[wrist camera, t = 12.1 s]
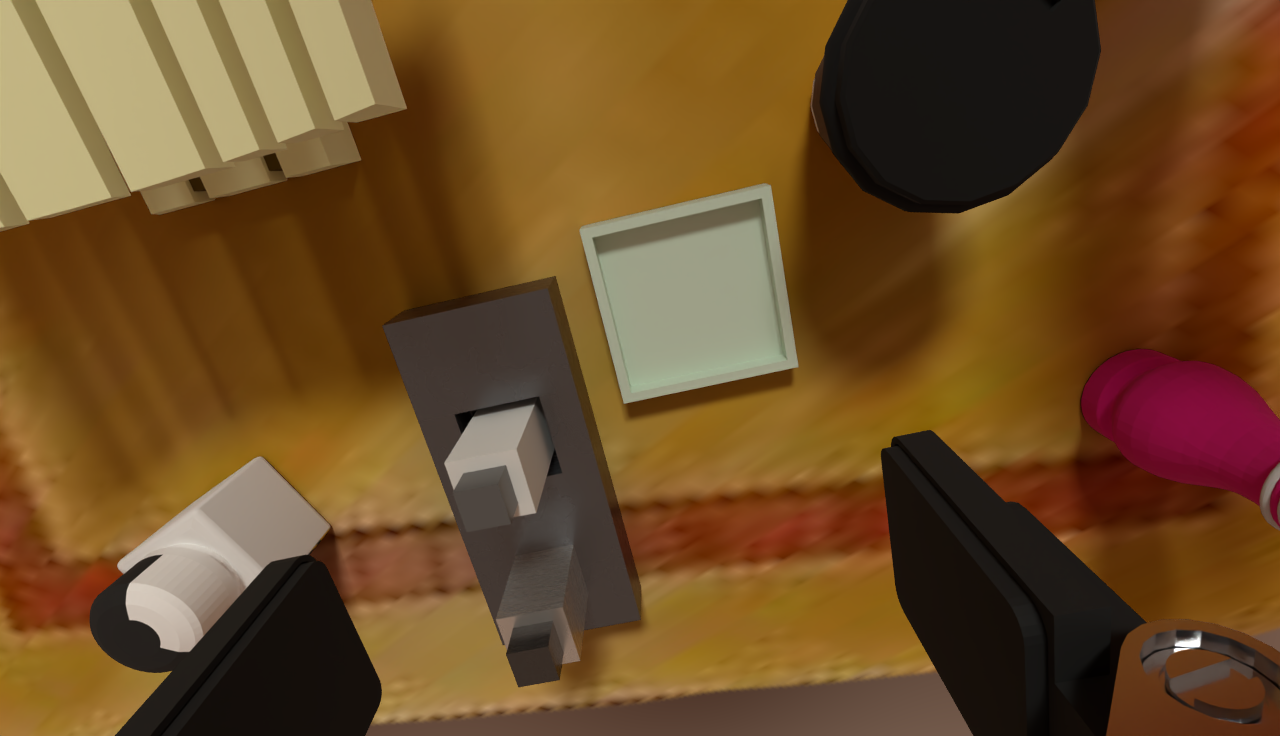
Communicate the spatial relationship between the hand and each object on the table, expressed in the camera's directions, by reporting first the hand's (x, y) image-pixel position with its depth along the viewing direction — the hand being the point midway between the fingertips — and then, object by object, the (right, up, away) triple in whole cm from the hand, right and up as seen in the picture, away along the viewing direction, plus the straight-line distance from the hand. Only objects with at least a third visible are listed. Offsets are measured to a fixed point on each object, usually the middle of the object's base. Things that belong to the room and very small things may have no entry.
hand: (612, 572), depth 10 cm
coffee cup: (+13, +19, +26) cm, 35 cm away
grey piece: (-7, -3, +33) cm, 34 cm away
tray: (+4, +8, +29) cm, 31 cm away
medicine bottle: (-27, -7, +35) cm, 44 cm away
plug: (-8, 0, +31) cm, 32 cm away
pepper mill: (+33, +2, +32) cm, 46 cm away
